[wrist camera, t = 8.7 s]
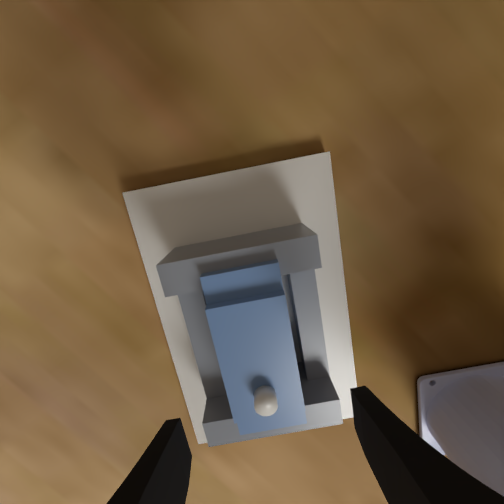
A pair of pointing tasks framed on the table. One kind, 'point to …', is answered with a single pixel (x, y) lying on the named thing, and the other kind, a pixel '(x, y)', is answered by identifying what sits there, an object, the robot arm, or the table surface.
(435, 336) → the table surface
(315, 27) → the table surface
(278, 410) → the block
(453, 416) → the robot arm
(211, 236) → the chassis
